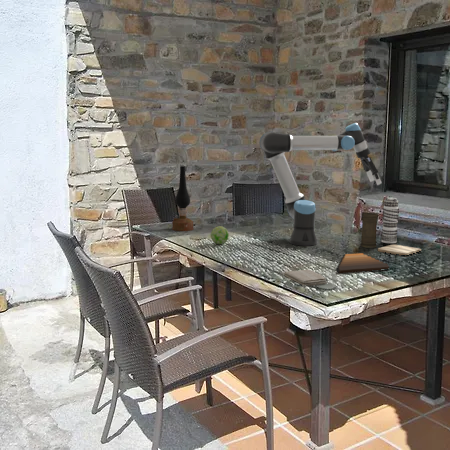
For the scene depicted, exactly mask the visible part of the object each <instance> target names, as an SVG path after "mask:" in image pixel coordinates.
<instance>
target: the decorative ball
mask: <svg viewBox="0 0 450 450" xmlns="http://www.w3.org/2000/svg"><path fill="white" fill-rule="evenodd" d="M229 237H230V234H229V231H228V229H227V228H226V227H224V226H220V225H219V226H216V227H214V228H213V229H212V230H211V232H210V239H211V241H212V242H213V243H214V244H217V245H223V244H226V243H227V242H228V240H229Z"/></svg>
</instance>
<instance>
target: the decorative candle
mask: <svg viewBox="0 0 450 450" xmlns="http://www.w3.org/2000/svg"><path fill="white" fill-rule="evenodd" d="M383 201H384V202H383V207H382V216H383V217H382V222H383V223H382V229H381V231H382V232H381V234H382V235H381V238H380V241H381V243H385V244H396V243H397V240H398V239H397V238H398V236H397V235H398V233H397V232H398V225H397V224H398V222H399V221H398V220H399V213H400V211H399V210H400V208H399V202H400V201H399V200H398V199H397V198H396V197H386V198H385V199H384V200H383Z"/></svg>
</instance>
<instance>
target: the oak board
mask: <svg viewBox="0 0 450 450" xmlns="http://www.w3.org/2000/svg"><path fill="white" fill-rule="evenodd" d="M377 251H378V252H379V253H385V252H386V253H387V254H390V253H391V254H390V255H396V254H399V255H398V256H401V255H409V254H412V255H414V254H413V253H415V254H417V253H416V252H419V251H421V252H422V249H421V248H417V247H411V246H407V245H399V244H396V243H392V244H390V245H389V244H388V245H386V246H382V247H378V248H377ZM419 253H420V252H419ZM409 256H410V255H409Z"/></svg>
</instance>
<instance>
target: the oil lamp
mask: <svg viewBox="0 0 450 450" xmlns="http://www.w3.org/2000/svg"><path fill="white" fill-rule="evenodd" d="M179 167H180V168H179V185H178V189H177V194H176V196H175V200H174V201H175V204H176V206H177V207H178V209H177V211H178V214H179V215H177V214H176V215H175V217H174V218H173V220H172V222H171V223H172V224H171V227H172V228H171V230H172V231H175V232H191V231H194V221H193V220H192V219H190V218H188V217H187V214H188V209H187V207H188V206H190V204H191V198H190V195H189V191H188V188H187V179H186V166H184V165H183V166H181V165H180V166H179Z"/></svg>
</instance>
